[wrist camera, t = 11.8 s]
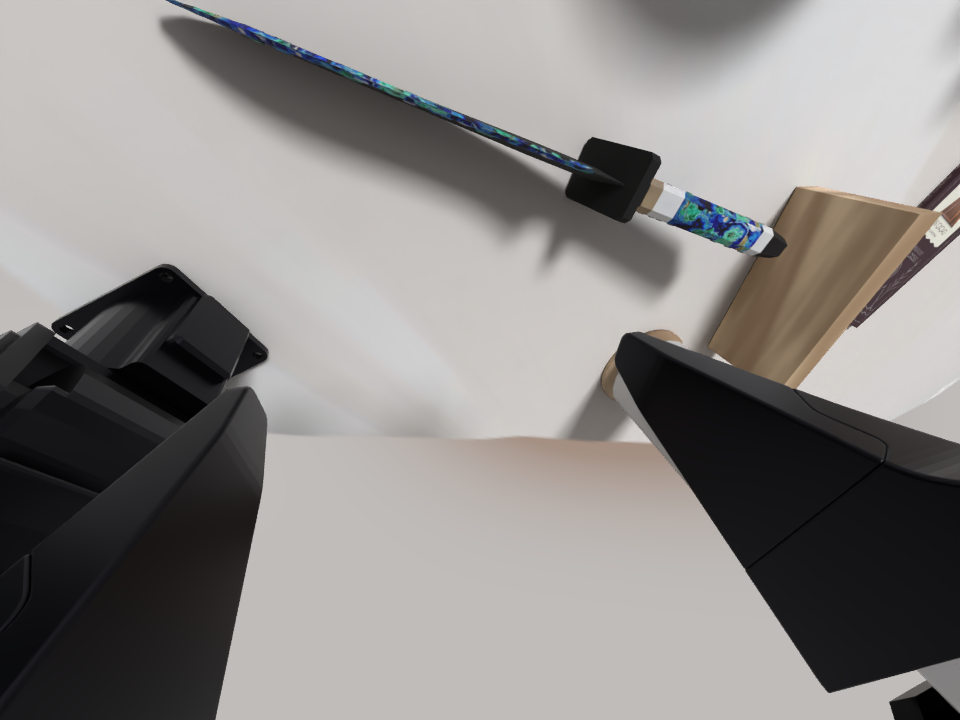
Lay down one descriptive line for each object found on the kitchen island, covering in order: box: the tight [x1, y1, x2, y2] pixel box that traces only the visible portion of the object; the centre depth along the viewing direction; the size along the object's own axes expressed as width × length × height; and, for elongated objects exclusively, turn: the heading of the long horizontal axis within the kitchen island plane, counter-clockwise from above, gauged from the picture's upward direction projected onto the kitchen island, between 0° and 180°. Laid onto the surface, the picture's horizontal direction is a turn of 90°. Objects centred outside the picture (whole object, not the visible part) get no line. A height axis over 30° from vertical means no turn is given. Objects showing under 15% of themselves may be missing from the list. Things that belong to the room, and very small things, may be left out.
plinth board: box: [708, 187, 942, 389], centre depth 26 cm, size 2×14×7 cm, turn 177°
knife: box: [166, 0, 788, 258], centre depth 16 cm, size 31×3×4 cm, turn 67°
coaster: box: [602, 330, 683, 400], centre depth 31 cm, size 8×8×1 cm
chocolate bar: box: [850, 164, 960, 328], centre depth 31 cm, size 9×1×18 cm
